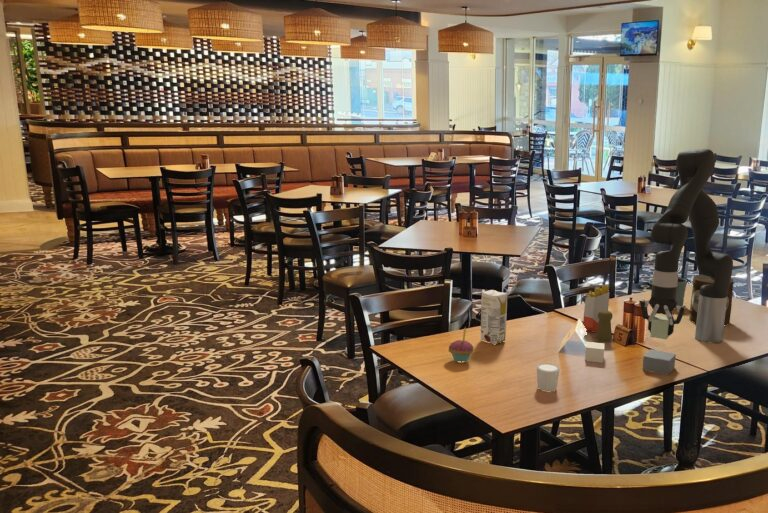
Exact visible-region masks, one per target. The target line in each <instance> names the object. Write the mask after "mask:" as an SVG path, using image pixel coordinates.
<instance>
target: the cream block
mask: <svg viewBox="0 0 768 513" xmlns="http://www.w3.org/2000/svg"><path fill="white" fill-rule="evenodd" d="M584 352H585V353H584V354H585V355H584V361H585V362H593V363H601V364H603V363H604V358H605V342H603V343H601V342H592V341H586V344H585V351H584Z"/></svg>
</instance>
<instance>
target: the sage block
mask: <svg viewBox="0 0 768 513" xmlns="http://www.w3.org/2000/svg"><path fill="white" fill-rule="evenodd" d="M668 327H669V321H668V318H667V316H662V315H655V317H654V318H653V319H652V323H651V332H650V338H656V339H662V340H666V341H667V340H668V338H669V337H670V336H669V335H668Z"/></svg>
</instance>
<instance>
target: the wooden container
mask: <svg viewBox="0 0 768 513" xmlns="http://www.w3.org/2000/svg"><path fill="white" fill-rule="evenodd" d="M714 280H715V278H714V277H710V276H705V275H702V274H697V275H694V276H693V277H692V291H691V299H690V308H689V318H688V319H689V321H690V322H692V321H693V323H694V322H695V323H694V324H696V322H697V312H698V303H699V292H700V287H701V286H703V285H708V284H713V283H714ZM733 290H734V279H733V278H731V281H730V287H729V290H728V293H727V301H726V311H725V320H724V325H727V324H729V325H730V323H731V322H730V321H731V313H732V306H733V305H732V304H733V293H734V292H733ZM727 326H728V325H727Z"/></svg>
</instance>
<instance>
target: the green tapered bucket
mask: <svg viewBox="0 0 768 513" xmlns="http://www.w3.org/2000/svg"><path fill="white" fill-rule="evenodd" d="M687 284H688V279H685V278H683V277H678V283H677V294H676V302H677V304H678V305H681V306H684V303H685V302H684V299H685V295H686V294H685V292H686V288H687Z"/></svg>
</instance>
